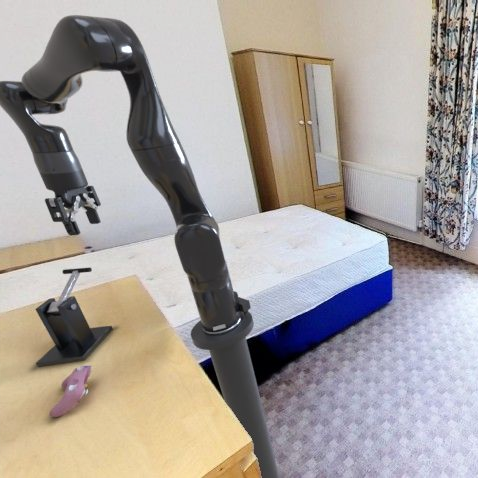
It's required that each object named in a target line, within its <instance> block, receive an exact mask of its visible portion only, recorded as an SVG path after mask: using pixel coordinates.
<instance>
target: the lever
mask: <svg viewBox="0 0 478 478" xmlns="http://www.w3.org/2000/svg"><path fill="white" fill-rule="evenodd" d="M92 271H93V268H92V267H78V268H77V267H76V268H66V269H63V270H62V275H70V276H69V279H68V280H67V282H66V284H65V286H64V288H63V290H62V292H61V294H60V297H59V298H58V300H55V301H54V302H52V303H51V305H50V307H49V309H48V311H47V313H49V314H51V315H53V316H61V314H60V312H59V310H58V308H57V306H59V305H60V304H61V303H62V302H64V301H65V300H66V299H67V298H69V297H70V295H71V293H72V291H73V289H74V287H75V285H76V283H77V281H78V278H79V277H80V275H81V274H82V273H91V272H92Z"/></svg>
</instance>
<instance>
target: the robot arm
mask: <svg viewBox="0 0 478 478" xmlns="http://www.w3.org/2000/svg"><path fill="white" fill-rule="evenodd" d="M152 70H153V69H152V68H151V65H150V62H149V58H148V55H147V53H146V50H145V48H144V45H143V44H142V41H141V40H140V38H139V36H138V35H137V33H136V32H135V31H134V29H133V28H132V27H131V26H129V24H128V23H126V22H124V21H123V20H121V19H117V18H111V17H101V16H91V15H83V14H70V15H66V16H63V17H62V18H61V19H60V20H58V21H57V23H56V25H55V26H54V29H53V30H52V32H51V35H50V37H49V39H48V42H47V44H46V46H45V49H44V51H43V53H42V55H41V58H40V59H39V60H38V61H37V62H36V63H34V64H33V65H32V66H31V67H30V68H29V69H28V70H26V72H24V73H23V75H22V76H21V81H19V80H18V81H16V80H0V107H1V109H2V110H3V111H4V112H5V113H6V114H7V115H8V116H9V118H10V119H11V120H12V121H13V122H14V123H15V125H16V126H17V128H18V130H20V132H21V133H22V135H23V136H24V138H25V141H26V143H27V145H28V147H29V149H30V152H31V154H32V158H33V161H34V164H35V166H36V168H37V171H38V172H39V176H40V177H41V180H42V182H43V184H44V187H45V189H46V190H48V191H51V192H53V193H54V197H51V198H48V197H47V198H44V203H45V205H46V207H47V210H48V213H49V215H50V218H51V220H52V222H53V223H62V225H63V227H64V229H65V231H66V233H67V235H69V236H78V235H80V234H81V230H80V228H79V225H78V223H77V220H75V219H76V215H77V213H78V212H79V209H83V210H84V211H85V212H84V213H85V216H86V217H87V220H88V222H89V224H91V225H99V224H100V223H101V222H102V221H101V218H100V216H99V214H98V208H99V207H101V205H102V202H101V201H100V198H99V196H98V194H97V191H96V190H95V189H96V188H95V187H94V185H89V182H88V180H87V176H86V174H85V171H84V170H83V167H82V164H81V162H80V159H79V157H78V156H77V154H76V152H75V150H74V148H73V147H74V146H73V144H72V143H71V140H70V137H69V135H68V132H67V130H66V129H65V128H64V127H62V126H60V125H53V124H45V123H41V122H39V121H38V120H37V119H36V118H35V117H34V115H38V116H39V115H59V114H62V113H63V112H65V111H66V110H67V104H68V101H69V99H70V98H71V97H73V96H74V95H76V94H77V93H78V92H79V91H80V90H81V89H82V87H83V84H84V83H83V77H82V76H83V75H82V74H85V73H89V72H100V73H107V72H110V73H111V72H120V74H121V76H122V78H123V82H124V83H125V86H126V89H127V92H128V96H129V110H128V111H129V112H128V117H127V123H126V130H125V136H126V143H127V146H128V148H129V150H130V152H131V153H132V155H133V157H134V159H135V162H136V163H137V165H138V166H139V168H140V170H141V172H142V173H143V175H144V176H145V177H146V179H147V180H148V181H149V182H150V184H151V185H152V186H153V187H154V188H155V190H157V192H158V193H159V194H160V195H161V196H162V198H163V199H164V200H165V202H166V203H167V206H168V208H169V210H170V212H171V215H172V217H173V220H174V223H175V226H176V229H175V233H174V237H173V238H174V239H173V241H174V245H175V250H176V253H177V255H178V259H179V260H180V264H181V267H182V270H183V272H184V273H185V274H186V277H187V280H188V283H189V286H190V290H191V292H192V296H193V299H194V303H195V307H196V309H197V313H198V316H199V319H200V320H201V323H202V327H203V331H204V333H205V334H207V335H221V334H225V333H228V332H230V331H232V330H233V329H235V328H236V327H237V326H238V325H239V324H240V322H241V320H243V319H244V318H243V314H242V312H244V315H246V314H247V312H249V310H250V309H251V308H252V307H251V303H250V300H248V299H245V298H244V297H240V296H239V293H238V291H235V290H234V287H233V283H232V279H231V276H230V271H229V267H228V263H227V260H226V259H225V255H224V251H223V245H222V243H221V237H220V234H221V233H220V227H219V224H218V222H217V221H216V219H215V218H214V216H213V214H212V212H211V211H210V209H209V208H208V206H207V203H206V202H205V201H204V199H203V197H202V195H201V192H200V191H199V187H198V185H197V180H196V178H195V175H194V172H193V169H192V167H191V164H190V162H189V158H188V157H187V154H186V152H185V150H184V146H183V144H182V143H181V141H180V138H179V136H178V134H177V133H176V130H175V128H174V126H173V124H172V121H171V119H170V117H169V114H168V111H167V109H166V107H165V105H164V102H163V100H162V97H161V95H160V92H159V88H158V86H157V82H156V79H155V76H154V73H153V71H152ZM57 213H58V214H59V215H58V214H57Z"/></svg>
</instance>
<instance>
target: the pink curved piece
mask: <svg viewBox="0 0 478 478" xmlns="http://www.w3.org/2000/svg"><path fill="white" fill-rule="evenodd" d="M91 373H92V365H82V366H76V368H74V369H73V371H72V372H71V374H69V375H68V376H67V377H66V378H65V379H64V380H63V381H62V383H61V388H63V389H65V390H64V394H63V395H62V398H61V399H60V400H59V401H58V403H56V404H55V405H54V406H53V407H51V409H50V411H49V417H51V418H59V417H60V416H63V415H65V414H67V413H69V412H70V411H71V410H72V409H73V408H74V407H75V406H76V405H78V404H79V403H80V401H81V399H82V398H83V396H87V394H88V392H89V389H88V385H89V384H87V381H88V379H89V378H90V376H91Z"/></svg>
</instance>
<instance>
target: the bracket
mask: <svg viewBox="0 0 478 478" xmlns="http://www.w3.org/2000/svg"><path fill="white" fill-rule="evenodd" d="M54 301H56V299H55V298H54V297H53V298H47V300H45V301H44V302H43V303H41V304H40V305H38V306H37V307H36V308H35V309H34V310H35V312H36V313H37V315H38V317H39V318H40V320H41V323H42V324H43V326H44V327H45V330H46V332H47V333H48V335H49V336H50V339H51V340H52V342H53V343H54V346H52V348H50V349H49V350H48V351H46V353H45V354H44V355H43V356H42V357H40V358H39V359H38V360H37V361H36V362H35V364H36V366H37V368H41V367H49V366H55V365H61V364H68V363H75V362H83V361H85V360H86V359H87V358H88V357H89V356H90V355H91V354H92V353H93V352H94V351H95V350H96V349H97V347H98V346H99V345H100V344H101V343H102V342H103V341H104V340H105V339H106V337H108V336H109V334H110V333H111V332H112V331H113V330H114V329H113V326H112V325H104V326H96V327H90V325H89V323H88V321H87V319H86V316H85V315H84V312H83V311H82V309H81V306H80V304H79V302H78V301H77V298H76V296H75V295H72V296H69V297H68V298H67V299H66V300H65V301H64V302H62V303H61V304H60V305H59V306H57V308H58V310H59V312H60V314H61V316H53V315H51V314H49V313H47V311H48V309H49V307H50V305H51V303H52V302H54Z"/></svg>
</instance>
